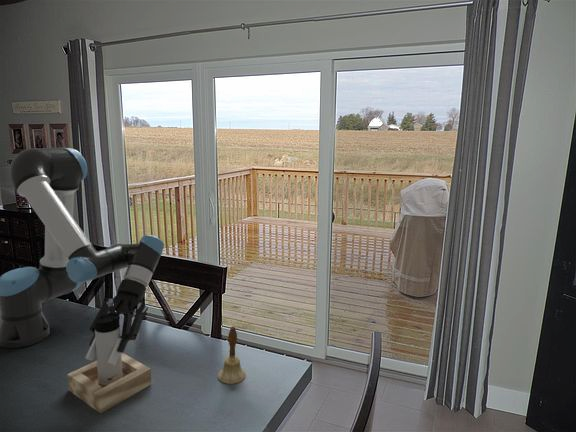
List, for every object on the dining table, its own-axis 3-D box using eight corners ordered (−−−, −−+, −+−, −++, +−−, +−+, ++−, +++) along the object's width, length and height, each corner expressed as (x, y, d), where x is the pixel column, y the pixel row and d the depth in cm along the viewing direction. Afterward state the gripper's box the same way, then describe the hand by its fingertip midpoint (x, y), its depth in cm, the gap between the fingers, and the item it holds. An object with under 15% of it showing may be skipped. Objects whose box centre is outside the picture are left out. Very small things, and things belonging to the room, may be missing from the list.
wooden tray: (68, 390, 112) (67, 374, 111) (119, 365, 124) (118, 350, 123) (100, 413, 103) (99, 396, 102) (151, 384, 116) (150, 368, 115)
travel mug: (114, 390, 110) (111, 322, 106) (93, 386, 111) (88, 319, 107) (128, 377, 116) (125, 312, 112) (107, 373, 117) (103, 309, 113)
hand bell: (250, 371, 124) (251, 323, 121) (238, 387, 116) (238, 336, 113) (225, 365, 127) (226, 318, 123) (212, 380, 119) (212, 330, 116)
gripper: (168, 292, 121) (137, 371, 109) (113, 284, 126) (78, 359, 114) (158, 282, 115) (124, 364, 103) (100, 274, 120) (61, 351, 108)
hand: (100, 361), depth 108 cm, fingers closed on travel mug, 6 cm apart
